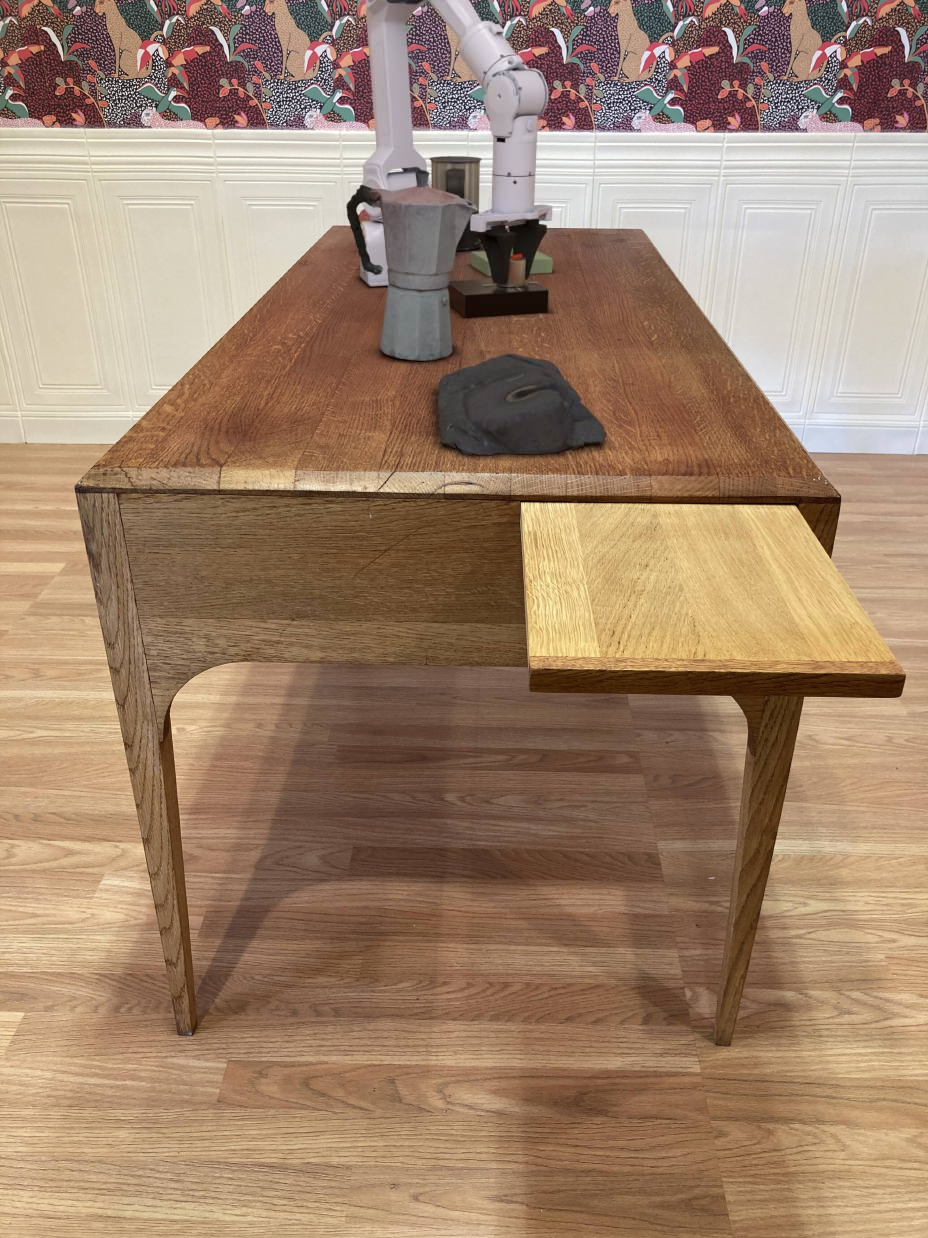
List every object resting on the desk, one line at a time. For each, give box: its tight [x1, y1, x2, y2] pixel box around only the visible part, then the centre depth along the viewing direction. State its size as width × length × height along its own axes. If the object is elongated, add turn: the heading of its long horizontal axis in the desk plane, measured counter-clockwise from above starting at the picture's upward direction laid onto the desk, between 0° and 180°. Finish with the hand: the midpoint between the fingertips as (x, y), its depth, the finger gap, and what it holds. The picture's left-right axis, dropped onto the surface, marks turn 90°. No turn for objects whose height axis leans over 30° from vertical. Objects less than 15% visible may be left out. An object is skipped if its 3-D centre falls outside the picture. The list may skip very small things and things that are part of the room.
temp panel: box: [447, 277, 550, 319], centre depth 135 cm, size 12×9×3 cm
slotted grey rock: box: [436, 353, 607, 456], centre depth 95 cm, size 15×22×5 cm
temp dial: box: [496, 254, 526, 287], centre depth 133 cm, size 4×4×4 cm
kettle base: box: [471, 248, 554, 277], centre depth 158 cm, size 11×9×4 cm
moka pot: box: [345, 170, 478, 362], centre depth 110 cm, size 10×15×20 cm, turn 78°
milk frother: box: [429, 155, 482, 251], centre depth 171 cm, size 14×16×15 cm
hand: (510, 280), depth 134 cm, fingers closed on temp dial, 4 cm apart
